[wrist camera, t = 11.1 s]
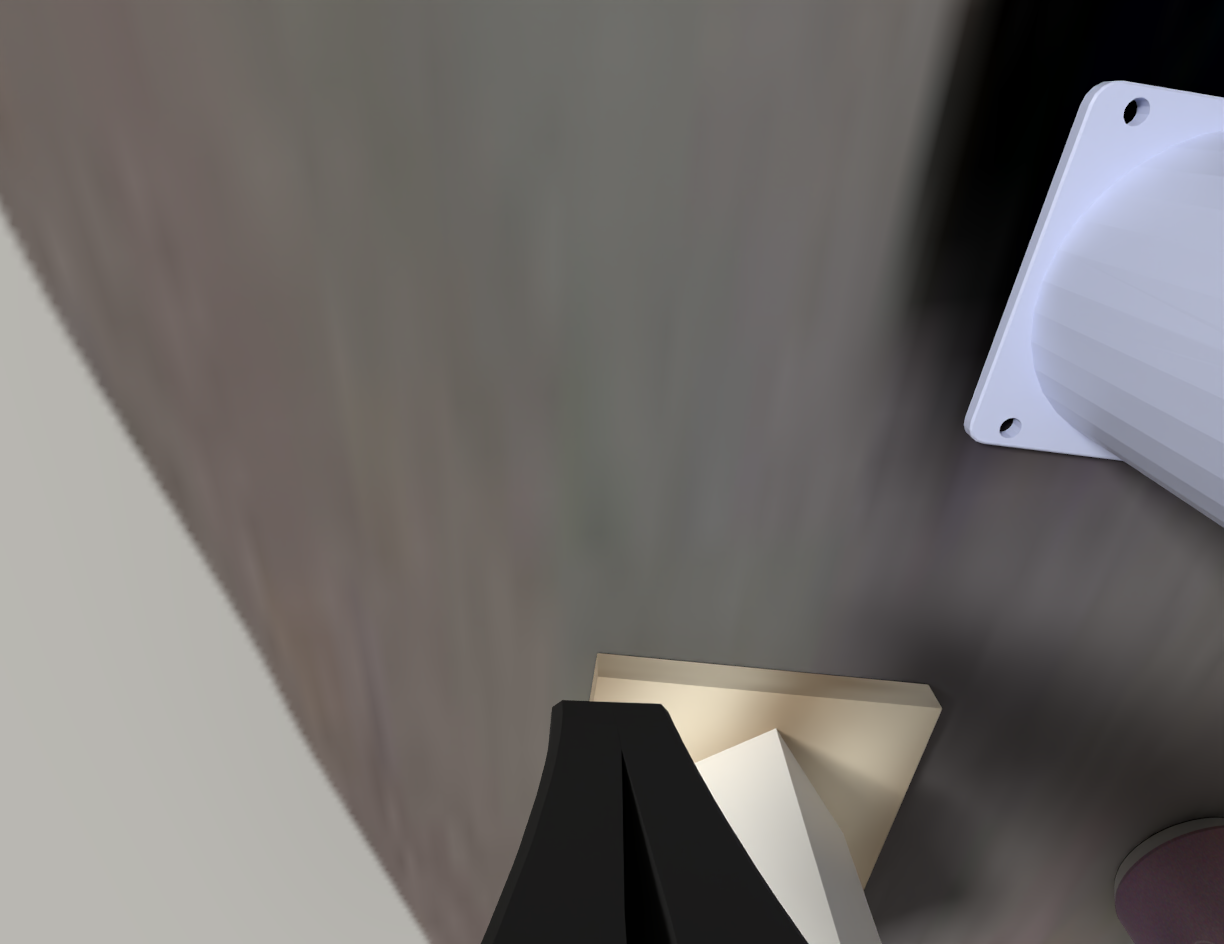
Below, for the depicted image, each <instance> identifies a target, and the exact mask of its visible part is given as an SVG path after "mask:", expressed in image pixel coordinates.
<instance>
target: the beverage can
mask: <svg viewBox="0 0 1224 944" xmlns="http://www.w3.org/2000/svg"><path fill="white" fill-rule="evenodd" d="M1114 897H1115V907H1116V913H1117V916H1118V918H1119V920H1120V921H1121V923H1122V925H1123V926H1124V928H1125V929H1126V931H1127V932H1128V934H1129V935H1130V937H1131V938H1132V940H1133V942H1134V943H1135V944H1224V818H1205V819H1198V820H1193V821H1188V822H1184V823H1181V824H1178V825H1175V826H1172V827H1170V828H1167V829H1165V830H1163V831H1161V832H1159V833H1157V834H1155V835H1153V836H1152V837H1150V838H1148V839H1147V840H1145V841H1144V842H1142V843H1141V844H1140V845H1139V846H1137V847H1136V848H1135V849H1134V850H1133V851H1132V852H1131V853H1130V854H1129V855H1128V856H1127V857H1126V858H1125V860H1124V861H1123V862H1122V864H1121V866H1120V867H1119V869H1118V872H1117V874H1116V878H1115V883H1114Z"/></svg>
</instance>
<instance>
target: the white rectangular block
mask: <svg viewBox="0 0 1224 944" xmlns="http://www.w3.org/2000/svg"><path fill="white" fill-rule="evenodd" d="M695 765H696V767H697V769H698V771H699V773H700V774H701V776H702V778H703V780H704V781H705V783H706V785H707V787H708V789H709V790H710V792H711V794H712V796H713V797H714V799H715V801H716V803H717V804H718V806H719V808H720V809H721V811H722V813H723V814H724V816H725V818H726V819H727V821H728V823H729V824H730V826H731V827H732V829H733V831H734V832H735V834H736V835H737V837H738V839H739V840H740V842H741V843H742V845H743V847H744V848H745V850H746V851H747V853H748V855H749V856H750V858H751V859H752V861H753V863H754V864H755V866H756V867H757V869H758V871H759V872H760V874H761V875H762V877H763V878H764V880H765V881H766V883H767V884H768V886H769V887H770V889H771V890H772V892H773V893H774V895H775V896H776V898H777V899H778V901H779V902H780V903H781V905H782V906H783V908H784V909H785V911H786V912H787V913H788V915H789V916H790V918H791V919H792V921H793V922H794V924H795V925H796V926H797V928H798V929H799V931H800V932H801V934H802V935H803V936H804V938H805V939H806V941H807V942H808V943H809V944H882V943H881V940H880V937H879V934H878V932H877V929H876V926H875V923H874V920H873V917H872V914H871V911H870V909H869V906H868V903H867V900H866V897H865V894H864V891H863V888H862V885H861V883H860V880H859V877H858V874H857V871H856V868H855V865H854V862H853V860H852V857H851V854H850V851H849V848H848V845H847V842H846V839H845V837H844V834H843V832H842V831H841V829H840V827H839V826H838V824H837V823H836V821H835V820H834V818H833V817H832V815H831V813H830V812H829V810H828V809H827V807H826V806H825V804H824V802H823V801H822V799H821V798H820V796H819V795H818V793H817V792H816V790H815V788H814V787H813V785H812V784H811V782H810V781H809V779H808V777H807V776H806V774H805V773H804V771H803V770H802V768H801V767H800V765H799V763H798V762H797V760H796V759H795V757H794V756H793V754H792V753H791V751H790V749H789V748H788V746H787V745H786V743H785V742H784V740H783V738H782V737H781V735H780V734H779V732H778V731H777V729H776V728H775V729H773V730H771V731H768V732H766V733H764V734H761V735H759V736H757V737H754V738H752V739H750V740H747V741H745V742H743V743H740V744H738V745H736V746H733V747H731V748H729V749H726V750H724V751H722V752H719V753H717V754H715V755H712V756H710V757H708V758H705V759H703V760H701V761H698V762H696V763H695Z"/></svg>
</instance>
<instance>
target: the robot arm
mask: <svg viewBox="0 0 1224 944" xmlns="http://www.w3.org/2000/svg"><path fill="white" fill-rule="evenodd" d="M1132 100H1135V101H1136V104H1137V106H1138V107H1137V113H1136V115H1135V117H1134V118H1133V120H1132V121H1131V122H1129V123H1128V124H1126V123H1125V121H1124V118H1123V116H1124V110H1125V108H1126V107H1127V105H1128V104H1129V102H1131V101H1132ZM1009 418H1013V424H1012V425H1011V426H1010V428H1009V429H1007V430H1005V431H1002V432H1000V426H1001V425H1002V423H1003V422H1004V421H1006V420H1007V419H1009ZM964 427H965V431H966V432H967V433H968V434H969V435H970V436H971V437H972V438H973V439H974V440H975V441H977V442H980V443H983V444H991V445H999V446H1007V447H1015V448H1023V449H1031V450H1039V451H1047V452H1055V453H1063V454H1071V455H1080V456H1088V457H1096V458H1104V459H1112V460H1120V461H1124V462H1126V463H1127V464H1129V465H1130V466H1132V467H1133V468H1135V469H1136V470H1138V471H1139V472H1141V473H1142V474H1144V475H1145V476H1147V477H1148V478H1150V479H1151V480H1153V481H1154V482H1156V483H1157V484H1159V485H1160V486H1162V487H1163V488H1165V489H1166V490H1168V491H1169V492H1171V493H1172V494H1174V495H1175V496H1177V497H1178V498H1180V499H1181V500H1183V501H1184V502H1186V503H1187V504H1189V505H1190V506H1192V507H1193V508H1195V509H1196V510H1198V511H1199V512H1201V513H1202V514H1204V515H1205V516H1207V517H1208V518H1210V519H1211V520H1213V521H1214V522H1216V523H1217V524H1219V525H1220V526H1222V527H1223V528H1224V98H1222V97H1216V96H1210V95H1204V94H1199V93H1193V92H1187V91H1181V90H1175V89H1169V88H1163V87H1157V86H1151V85H1145V84H1139V83H1133V82H1127V81H1108V82H1102V83H1100V84H1098V85H1096V86H1094V87H1093V88H1092V89H1091V90H1090V91H1089V92H1088V93H1087V94H1086V95H1085V97H1084V99H1083V101H1082V103H1081V105H1080V107H1079V110H1078V113H1077V115H1076V118H1075V121H1074V123H1073V126H1072V129H1071V132H1070V134H1069V137H1068V140H1067V142H1066V145H1065V148H1064V151H1063V153H1062V156H1061V159H1060V161H1059V164H1058V167H1057V170H1056V172H1055V175H1054V178H1053V180H1052V183H1051V186H1050V189H1049V191H1048V194H1047V197H1046V199H1045V202H1044V205H1043V208H1042V210H1041V213H1040V216H1039V218H1038V221H1037V224H1036V227H1035V229H1034V232H1033V235H1032V237H1031V240H1030V243H1029V246H1028V248H1027V251H1026V254H1025V256H1024V259H1023V262H1022V265H1021V267H1020V270H1019V273H1018V275H1017V278H1016V281H1015V284H1014V286H1013V289H1012V292H1011V294H1010V297H1009V300H1008V303H1007V305H1006V308H1005V311H1004V313H1003V316H1002V319H1001V322H1000V324H999V327H998V330H997V332H996V335H995V338H994V341H993V343H992V346H991V349H990V351H989V354H988V357H987V360H986V362H985V365H984V368H983V370H982V373H981V376H980V379H979V381H978V384H977V387H976V389H975V392H974V395H973V398H972V400H971V403H970V406H969V408H968V411H967V414H966V417H965V421H964ZM481 944H809V943H808V942H807V941H806V939H805V938H804V936H803V935H802V934H801V932H800V931H799V929H798V928H797V926H796V925H795V924H794V922H793V921H792V919H791V918H790V916H789V915H788V913H787V912H786V911H785V909H784V908H783V906H782V905H781V903H780V902H779V901H778V899H777V898H776V896H775V895H774V893H773V892H772V890H771V889H770V887H769V886H768V884H767V883H766V881H765V880H764V878H763V877H762V875H761V874H760V872H759V871H758V869H757V867H756V866H755V864H754V863H753V861H752V859H751V858H750V856H749V855H748V853H747V851H746V850H745V848H744V847H743V845H742V843H741V842H740V840H739V839H738V837H737V835H736V834H735V832H734V831H733V829H732V827H731V826H730V824H729V823H728V821H727V819H726V818H725V816H724V814H723V813H722V811H721V809H720V808H719V806H718V804H717V803H716V801H715V799H714V797H713V796H712V794H711V792H710V790H709V789H708V787H707V785H706V783H705V781H704V780H703V778H702V776H701V774H700V773H699V771H698V769H697V767H696V765H695V763H694V762H693V760H692V758H691V756H690V754H689V752H688V750H687V748H686V747H685V745H684V743H683V741H682V739H681V737H680V735H679V733H678V731H677V729H676V727H675V725H674V723H673V721H672V719H671V716H670V714H669V712H668V711H667V710H666V709H665V708H664V706H663V705H662V704H655V703H626V702H597V701H568V700H562V701H561V702H559V703H558V704H556V705H555V706H553V707H552V714H551V724H550V735H549V745H548V752H547V757H546V762H545V766H544V770H543V773H542V777H541V781H540V785H539V789H538V792H537V796H536V799H535V802H534V805H533V808H532V811H531V814H530V817H529V820H528V823H527V826H526V829H525V832H524V835H523V838H522V841H521V844H520V847H519V850H518V853H517V856H516V858H515V861H514V864H513V866H512V869H511V871H510V874H509V876H508V879H507V881H506V884H505V886H504V889H503V891H502V894H501V896H500V899H499V901H498V904H497V906H496V909H495V911H494V913H493V916H492V918H491V921H490V923H489V926H488V928H487V931H486V933H485V935H484V938H483V940H482V942H481Z"/></svg>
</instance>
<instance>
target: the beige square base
mask: <svg viewBox="0 0 1224 944" xmlns="http://www.w3.org/2000/svg"><path fill="white" fill-rule="evenodd" d="M590 701H597V702H626V703H655V704H662V705H663V706H664V708H665V709H666V710H667V711H668V712H669V714H670V716H671V719H672V721H673V723H674V725H675V727H676V729H677V731H678V733H679V735H680V737H681V739H682V741H683V743H684V745H685V747H686V748H687V750H688V752H689V754H690V756H691V758H692V760H693V762H694V763H696V762H698V761H701V760H703V759H705V758H708V757H710V756H712V755H715V754H717V753H719V752H722V751H724V750H726V749H729V748H731V747H733V746H736V745H738V744H740V743H743V742H745V741H747V740H750V739H752V738H754V737H757V736H759V735H761V734H764V733H766V732H768V731H771V730H773V729H775V728H776V729H777V731H778V732H779V734H780V735H781V737H782V738H783V740H784V742H785V743H786V745H787V746H788V748H789V749H790V751H791V753H792V754H793V756H794V757H795V759H796V760H797V762H798V763H799V765H800V767H801V768H802V770H803V771H804V773H805V774H806V776H807V777H808V779H809V781H810V782H811V784H812V785H813V787H814V788H815V790H816V792H817V793H818V795H819V796H820V798H821V799H822V801H823V802H824V804H825V806H826V807H827V809H828V810H829V812H830V813H831V815H832V817H833V818H834V820H835V821H836V823H837V824H838V826H839V827H840V829H841V831H842V832H843V834H844V837H845V839H846V842H847V845H848V848H849V851H850V854H851V857H852V860H853V862H854V865H855V868H856V871H857V874H858V877H859V880H860V883H861V885H862V888H863V891H864V888H865V886H866V884H867V882H868V879H869V877H870V875H871V872H872V870H873V868H874V865H875V863H876V861H877V858H878V856H879V854H880V851H881V849H882V847H883V844H884V842H885V840H886V838H887V835H888V833H889V831H890V828H891V826H892V824H893V821H894V819H895V817H896V814H897V812H898V810H899V807H900V805H901V803H902V801H903V798H904V796H905V794H906V791H907V789H908V787H909V784H910V782H911V780H912V777H913V775H914V773H915V770H916V768H917V766H918V763H919V761H920V759H921V757H922V754H923V752H924V750H925V747H926V745H927V743H928V740H929V738H930V736H931V733H932V731H933V729H934V726H935V724H936V722H937V720H938V717H939V715H940V713H941V710H942V707H941V706H940V704H939V702H938V700H937V699H936V697H935V695H934V694H933V692H932V690H931V688H930V687H929V685H928V684H917V683H907V682H896V681H886V680H875V679H865V678H854V677H844V676H833V675H823V674H812V673H802V672H791V671H781V670H770V669H760V668H749V667H739V666H728V665H718V664H707V663H697V662H686V661H676V660H665V659H654V658H644V657H633V656H623V655H612V654H602V653H597V659H596V665H595V671H594V677H593V683H592V689H591V695H590Z"/></svg>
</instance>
